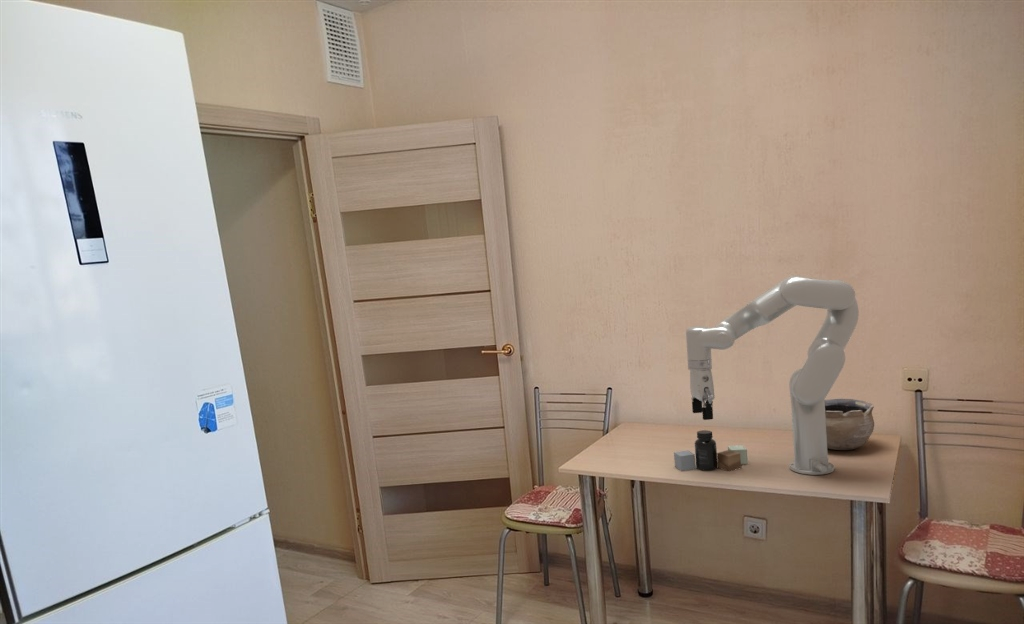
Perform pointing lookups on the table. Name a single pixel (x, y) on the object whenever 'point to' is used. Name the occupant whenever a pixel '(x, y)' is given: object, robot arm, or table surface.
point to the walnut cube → (729, 460)
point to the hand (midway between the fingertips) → (702, 416)
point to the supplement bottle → (705, 451)
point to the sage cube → (741, 450)
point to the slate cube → (684, 460)
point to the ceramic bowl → (848, 423)
